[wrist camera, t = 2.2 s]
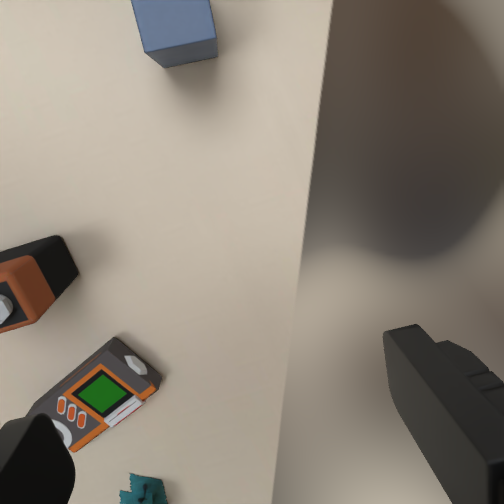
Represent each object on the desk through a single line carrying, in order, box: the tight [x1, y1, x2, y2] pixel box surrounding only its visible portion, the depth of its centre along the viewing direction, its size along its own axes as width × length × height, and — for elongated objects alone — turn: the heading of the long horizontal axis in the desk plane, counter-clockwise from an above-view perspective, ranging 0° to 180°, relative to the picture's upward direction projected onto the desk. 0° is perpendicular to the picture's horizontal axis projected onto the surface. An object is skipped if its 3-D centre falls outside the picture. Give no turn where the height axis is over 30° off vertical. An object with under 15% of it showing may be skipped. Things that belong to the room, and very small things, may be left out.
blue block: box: [131, 0, 218, 68], centre depth 26 cm, size 4×4×8 cm
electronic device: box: [25, 337, 162, 452], centre depth 39 cm, size 7×3×15 cm
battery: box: [0, 235, 78, 333], centre depth 31 cm, size 4×7×10 cm, turn 106°
